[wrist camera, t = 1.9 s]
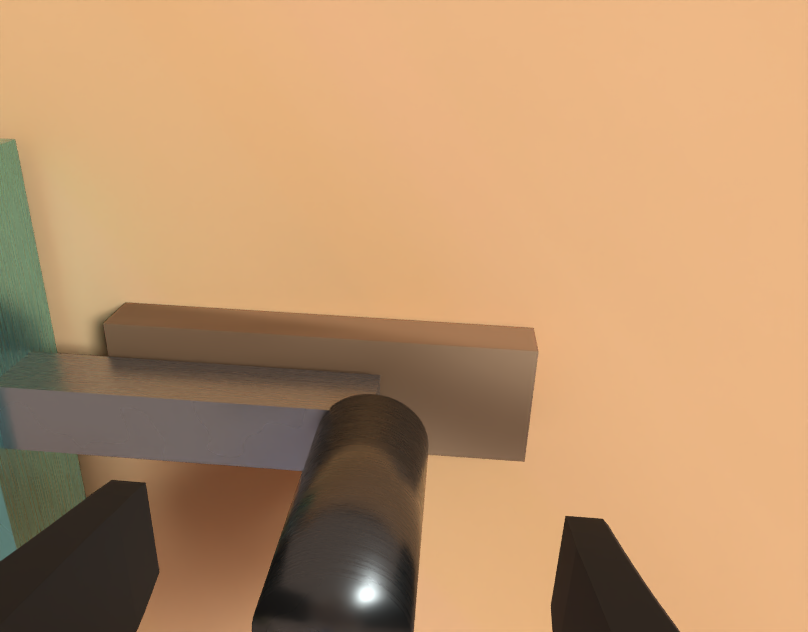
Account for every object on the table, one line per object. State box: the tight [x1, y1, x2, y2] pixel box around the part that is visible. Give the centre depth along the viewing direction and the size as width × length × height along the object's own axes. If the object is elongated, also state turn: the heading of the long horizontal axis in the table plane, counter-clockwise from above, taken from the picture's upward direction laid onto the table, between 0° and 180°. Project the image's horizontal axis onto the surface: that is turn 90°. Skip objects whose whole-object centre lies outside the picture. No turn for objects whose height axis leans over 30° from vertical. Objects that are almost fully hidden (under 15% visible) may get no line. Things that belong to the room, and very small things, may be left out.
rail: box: [103, 303, 538, 462], centre depth 17 cm, size 3×10×1 cm, turn 88°
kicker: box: [0, 139, 429, 632], centre depth 14 cm, size 11×11×8 cm
